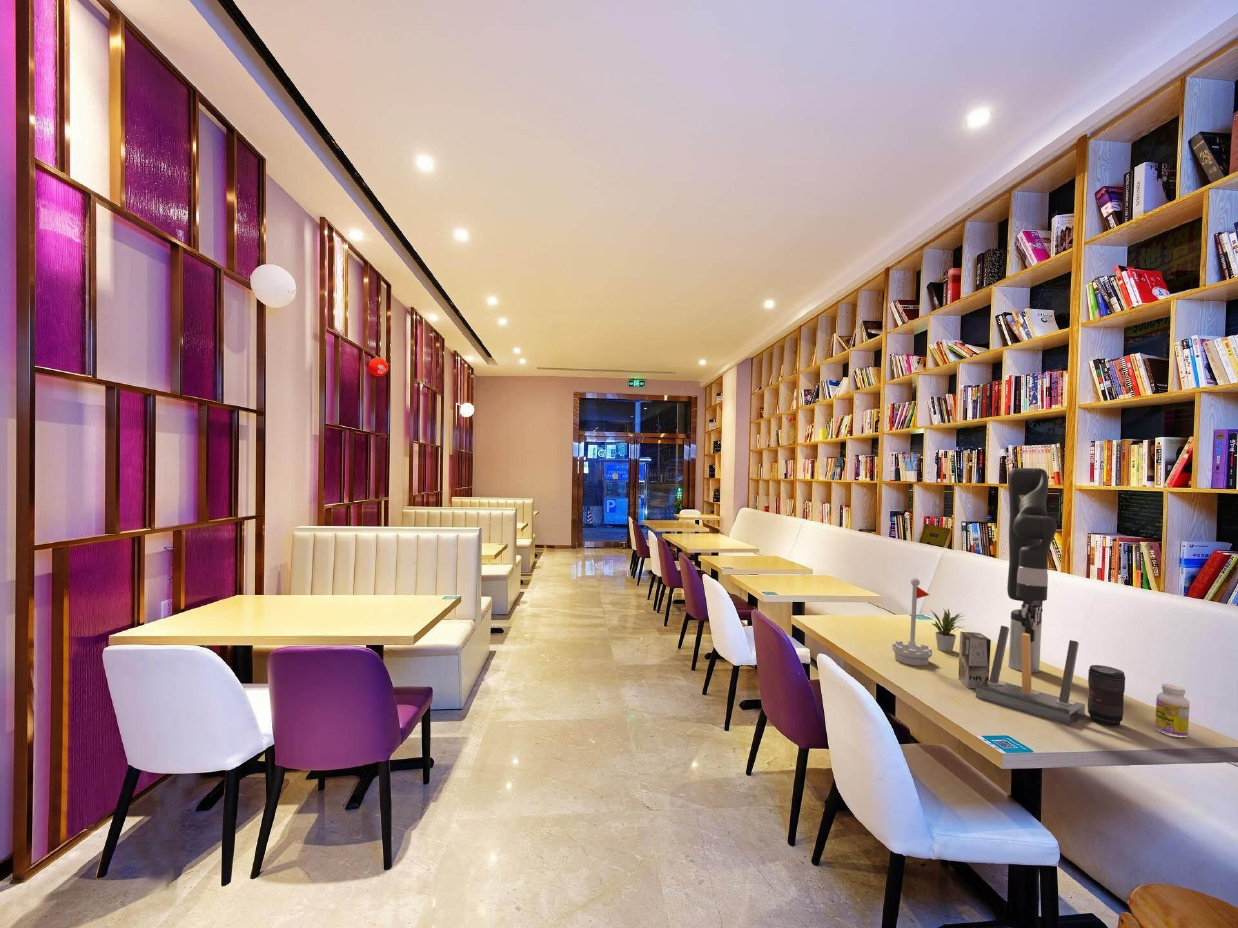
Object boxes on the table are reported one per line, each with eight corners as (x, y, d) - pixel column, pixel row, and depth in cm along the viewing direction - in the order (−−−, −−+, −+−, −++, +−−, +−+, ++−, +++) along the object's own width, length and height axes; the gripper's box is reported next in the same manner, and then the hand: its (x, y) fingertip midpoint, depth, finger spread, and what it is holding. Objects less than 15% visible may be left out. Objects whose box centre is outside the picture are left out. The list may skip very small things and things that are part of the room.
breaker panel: (993, 688, 194) (993, 676, 194) (1084, 714, 176) (1085, 701, 176) (975, 696, 186) (976, 684, 186) (1069, 725, 167) (1070, 711, 167)
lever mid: (1022, 692, 181) (1021, 632, 179) (1033, 695, 179) (1032, 634, 177) (1020, 695, 180) (1019, 633, 178) (1031, 698, 178) (1030, 636, 176)
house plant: (976, 657, 228) (978, 614, 228) (939, 655, 228) (941, 612, 229) (956, 646, 243) (957, 605, 243) (921, 644, 243) (923, 603, 243)
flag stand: (885, 658, 221) (889, 576, 221) (900, 652, 230) (904, 573, 230) (922, 668, 212) (927, 582, 212) (937, 661, 220) (941, 579, 220)
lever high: (1057, 705, 174) (1069, 641, 179) (1069, 708, 172) (1080, 643, 177) (1056, 703, 173) (1067, 639, 178) (1067, 706, 171) (1079, 641, 176)
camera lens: (1079, 718, 173) (1082, 665, 173) (1097, 714, 176) (1099, 663, 176) (1112, 729, 165) (1114, 675, 165) (1129, 726, 168) (1132, 672, 169)
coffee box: (989, 690, 192) (991, 639, 192) (967, 688, 193) (969, 637, 194) (978, 681, 201) (980, 632, 201) (957, 678, 202) (959, 630, 202)
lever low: (988, 685, 188) (1001, 626, 193) (998, 688, 186) (1011, 628, 191) (986, 683, 187) (999, 625, 192) (996, 686, 185) (1009, 627, 190)
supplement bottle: (1148, 728, 168) (1150, 681, 168) (1170, 728, 168) (1172, 682, 169) (1172, 739, 161) (1174, 690, 161) (1194, 739, 162) (1197, 691, 162)
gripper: (1025, 578, 186) (1022, 635, 186) (1009, 581, 178) (1006, 640, 178) (1054, 583, 181) (1051, 641, 180) (1039, 586, 172) (1036, 647, 172)
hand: (1029, 641), depth 179 cm, fingers closed
